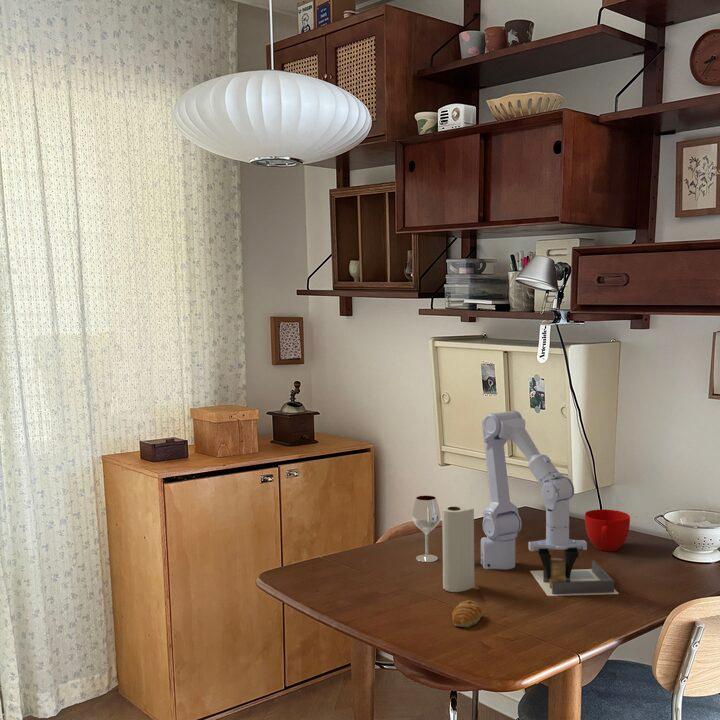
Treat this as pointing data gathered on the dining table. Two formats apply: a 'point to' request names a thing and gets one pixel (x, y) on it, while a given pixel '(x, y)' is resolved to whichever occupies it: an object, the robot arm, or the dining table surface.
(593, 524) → the ceramic cup
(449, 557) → the paper towel roll
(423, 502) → the wineglass
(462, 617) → the pastry
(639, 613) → the dining table surface
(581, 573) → the track board
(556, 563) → the oak dowel
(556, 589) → the metal rails
